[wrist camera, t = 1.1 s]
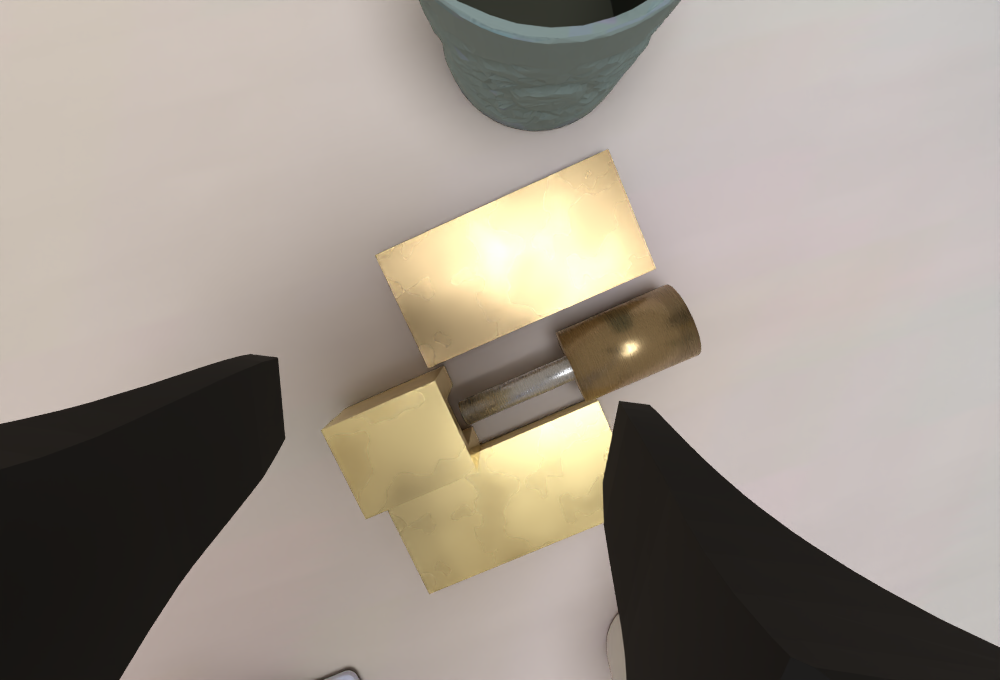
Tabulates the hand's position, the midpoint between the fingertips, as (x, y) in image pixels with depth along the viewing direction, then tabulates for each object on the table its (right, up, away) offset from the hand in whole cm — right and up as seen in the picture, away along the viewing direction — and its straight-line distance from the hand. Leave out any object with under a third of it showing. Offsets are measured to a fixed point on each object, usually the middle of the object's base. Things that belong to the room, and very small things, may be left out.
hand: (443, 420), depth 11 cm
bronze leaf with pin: (+3, +4, +15) cm, 16 cm away
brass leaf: (+1, -4, +16) cm, 17 cm away
